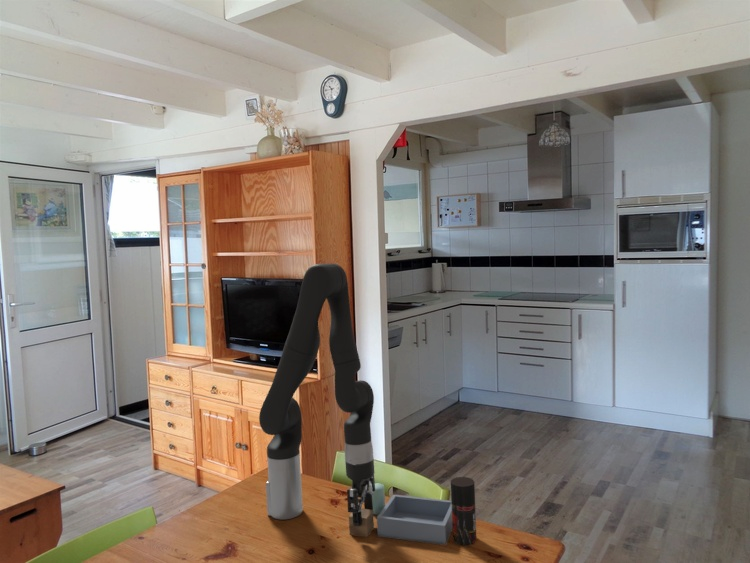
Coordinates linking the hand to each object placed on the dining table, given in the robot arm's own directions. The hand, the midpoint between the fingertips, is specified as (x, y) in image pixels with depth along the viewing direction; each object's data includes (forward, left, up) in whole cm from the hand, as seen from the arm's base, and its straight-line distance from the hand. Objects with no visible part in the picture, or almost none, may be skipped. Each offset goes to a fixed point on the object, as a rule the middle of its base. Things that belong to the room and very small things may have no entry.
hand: (363, 517), depth 146 cm
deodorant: (+26, +3, -4) cm, 27 cm away
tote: (+13, +6, -4) cm, 15 cm away
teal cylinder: (-1, +12, -4) cm, 13 cm away
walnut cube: (-1, 0, -4) cm, 4 cm away
